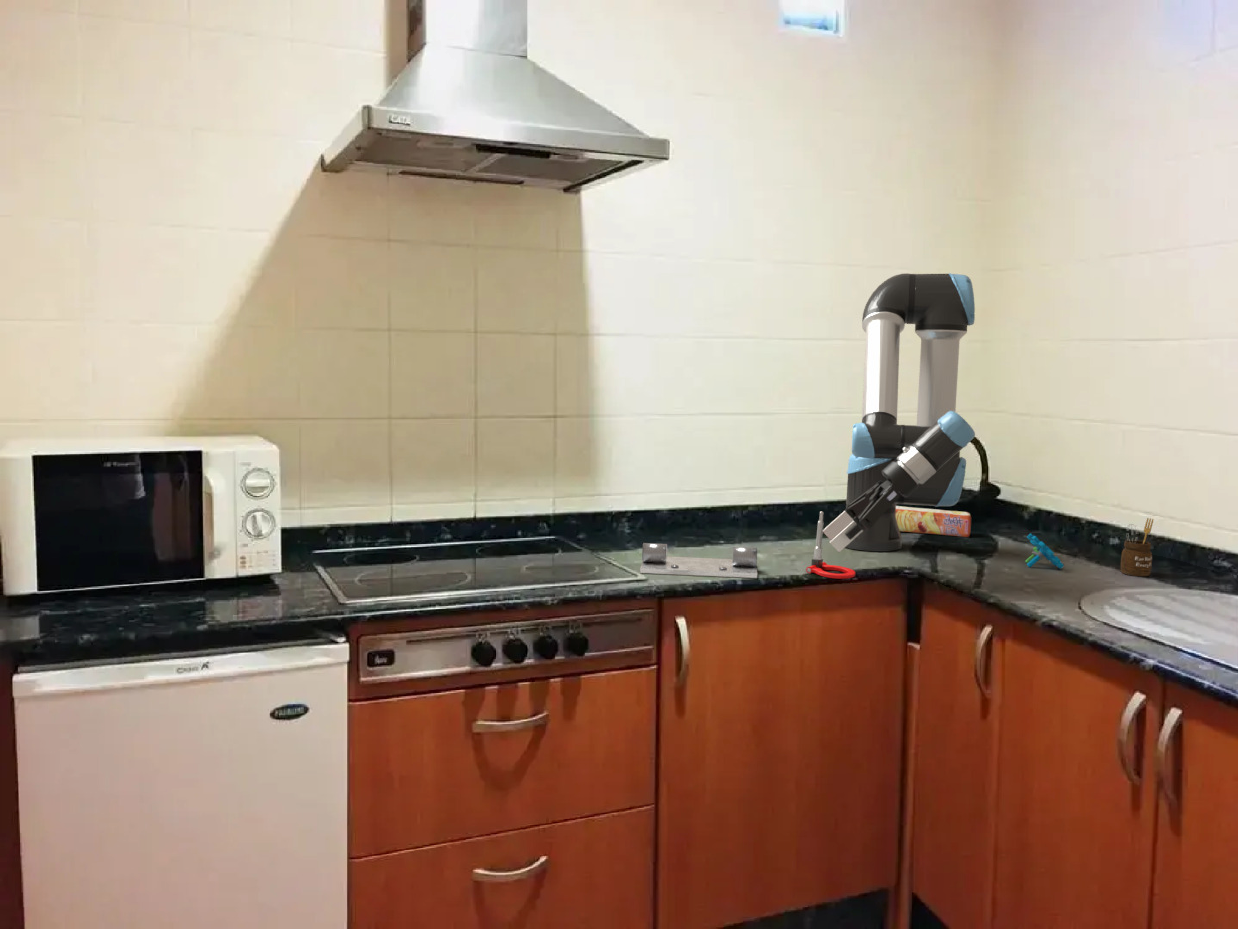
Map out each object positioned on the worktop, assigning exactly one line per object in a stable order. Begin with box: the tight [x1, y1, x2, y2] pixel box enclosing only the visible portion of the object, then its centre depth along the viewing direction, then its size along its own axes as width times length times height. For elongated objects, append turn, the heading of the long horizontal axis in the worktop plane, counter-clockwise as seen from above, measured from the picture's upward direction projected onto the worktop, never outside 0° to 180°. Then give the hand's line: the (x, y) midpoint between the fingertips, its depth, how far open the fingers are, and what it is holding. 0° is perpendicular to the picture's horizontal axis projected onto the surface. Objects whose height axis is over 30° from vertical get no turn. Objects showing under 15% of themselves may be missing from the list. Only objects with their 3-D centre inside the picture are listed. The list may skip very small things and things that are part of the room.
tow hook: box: [805, 511, 856, 580], centre depth 215 cm, size 8×13×9 cm
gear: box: [1024, 533, 1065, 570], centre depth 227 cm, size 11×6×10 cm
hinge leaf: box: [639, 542, 758, 579], centre depth 217 cm, size 13×24×5 cm, turn 84°
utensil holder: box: [1120, 517, 1154, 577], centre depth 221 cm, size 6×6×12 cm
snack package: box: [896, 505, 972, 538], centre depth 266 cm, size 21×7×7 cm, turn 71°
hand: (830, 541), depth 215 cm, fingers open, 13 cm apart
